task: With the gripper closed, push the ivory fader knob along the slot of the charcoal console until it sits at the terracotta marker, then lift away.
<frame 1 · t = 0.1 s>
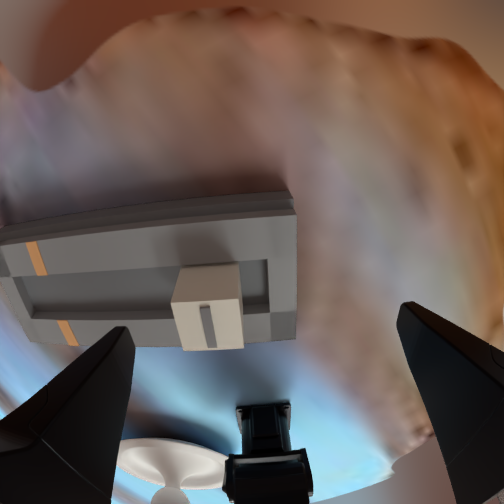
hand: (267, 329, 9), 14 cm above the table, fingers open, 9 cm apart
console: (133, 274, 25), on the table
candlestick: (163, 449, 40), on the table
fader knob: (211, 304, 21), point 5 cm above the table, slide at -7.0 cm
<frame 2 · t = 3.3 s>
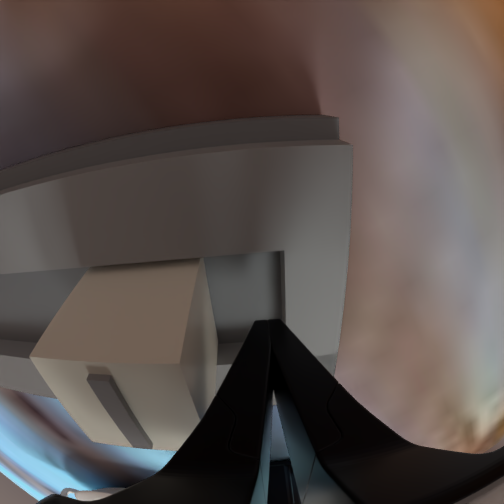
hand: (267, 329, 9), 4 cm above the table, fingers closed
console: (50, 282, 13), on the table
candlestick: (142, 495, 28), on the table
fader knob: (141, 351, 9), point 5 cm above the table, slide at -6.4 cm, touching gripper
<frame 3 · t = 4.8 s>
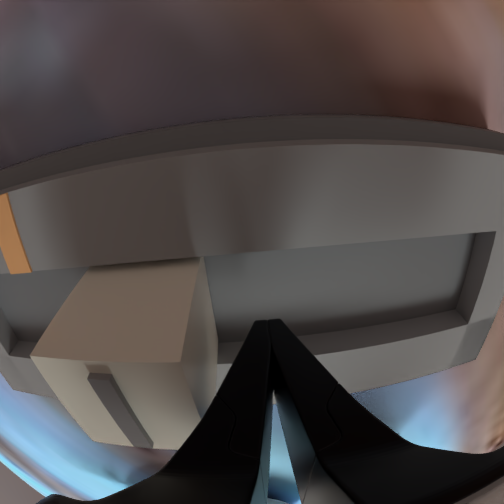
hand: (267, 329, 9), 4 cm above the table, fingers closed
console: (216, 269, 13), on the table
candlestick: (209, 500, 28), on the table
fader knob: (142, 351, 9), point 5 cm above the table, slide at 2.1 cm, touching gripper
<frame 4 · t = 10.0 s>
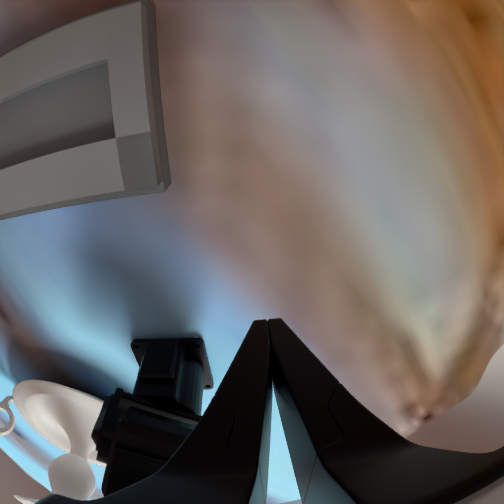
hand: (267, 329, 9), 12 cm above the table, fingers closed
console: (5, 136, 16), on the table
candlestick: (76, 409, 31), on the table
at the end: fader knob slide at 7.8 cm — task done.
